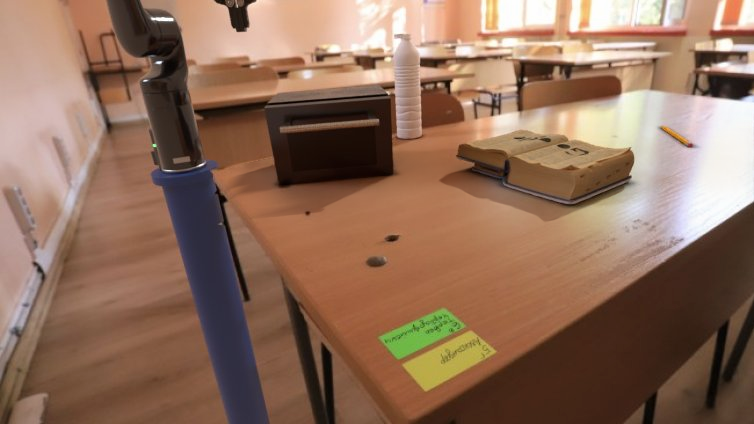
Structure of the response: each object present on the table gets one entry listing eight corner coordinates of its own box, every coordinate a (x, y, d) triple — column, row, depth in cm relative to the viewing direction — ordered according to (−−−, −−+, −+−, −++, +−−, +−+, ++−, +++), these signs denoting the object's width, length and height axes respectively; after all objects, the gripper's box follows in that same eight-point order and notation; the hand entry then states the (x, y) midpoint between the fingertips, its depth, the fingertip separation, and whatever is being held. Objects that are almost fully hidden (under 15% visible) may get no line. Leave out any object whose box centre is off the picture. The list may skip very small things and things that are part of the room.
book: (632, 181, 68) (639, 145, 66) (569, 206, 60) (574, 167, 58) (512, 153, 88) (514, 125, 86) (453, 170, 80) (453, 139, 78)
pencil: (688, 147, 85) (688, 144, 84) (659, 127, 101) (660, 124, 101) (692, 147, 84) (693, 144, 84) (663, 127, 101) (663, 124, 101)
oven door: (396, 183, 77) (394, 104, 69) (276, 194, 75) (260, 115, 68) (392, 171, 82) (389, 95, 74) (279, 181, 80) (265, 105, 73)
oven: (392, 171, 82) (388, 93, 76) (279, 182, 80) (267, 103, 75) (383, 151, 97) (379, 84, 91) (288, 160, 95) (278, 92, 89)
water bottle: (402, 133, 114) (398, 34, 104) (425, 134, 111) (423, 32, 101) (390, 140, 106) (384, 35, 97) (414, 141, 104) (410, 33, 94)
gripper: (266, -85, 69) (282, 29, 75) (185, -81, 68) (208, 34, 74) (259, -99, 62) (277, 28, 68) (168, -95, 61) (195, 34, 68)
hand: (241, 31), depth 71 cm, fingers closed
